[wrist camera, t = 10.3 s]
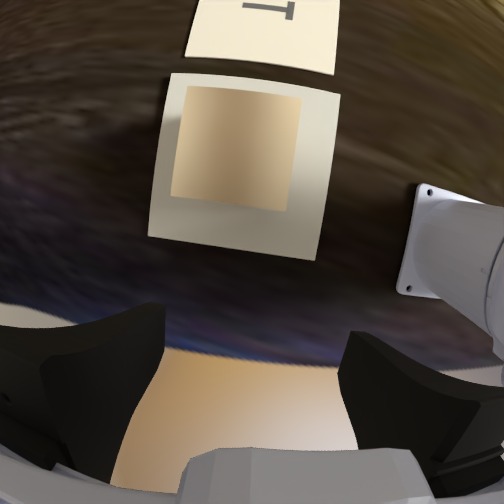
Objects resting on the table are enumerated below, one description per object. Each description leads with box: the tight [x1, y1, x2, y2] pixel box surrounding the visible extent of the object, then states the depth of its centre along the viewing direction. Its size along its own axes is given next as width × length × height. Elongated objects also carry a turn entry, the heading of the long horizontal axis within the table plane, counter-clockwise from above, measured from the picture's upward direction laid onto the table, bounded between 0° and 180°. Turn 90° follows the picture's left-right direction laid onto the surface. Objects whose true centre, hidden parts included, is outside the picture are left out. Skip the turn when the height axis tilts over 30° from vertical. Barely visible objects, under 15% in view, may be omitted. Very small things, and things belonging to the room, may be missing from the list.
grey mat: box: [148, 73, 340, 261], centre depth 18 cm, size 11×11×1 cm
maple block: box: [170, 86, 302, 212], centre depth 15 cm, size 5×5×6 cm
